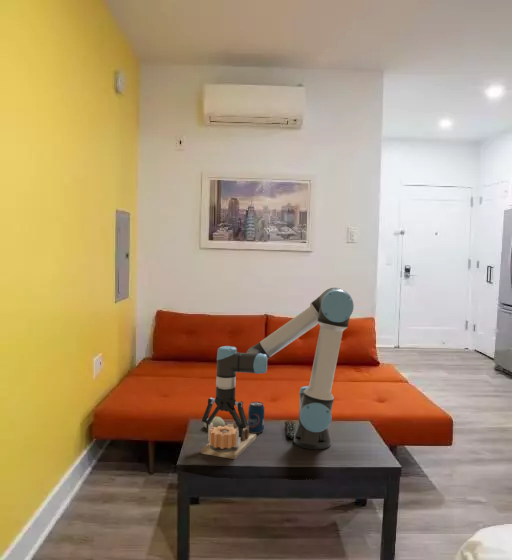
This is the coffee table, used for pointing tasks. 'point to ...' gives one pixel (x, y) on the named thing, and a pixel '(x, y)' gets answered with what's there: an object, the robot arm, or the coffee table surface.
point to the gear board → (232, 451)
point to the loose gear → (223, 437)
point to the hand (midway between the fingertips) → (224, 442)
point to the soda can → (256, 417)
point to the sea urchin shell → (216, 422)
